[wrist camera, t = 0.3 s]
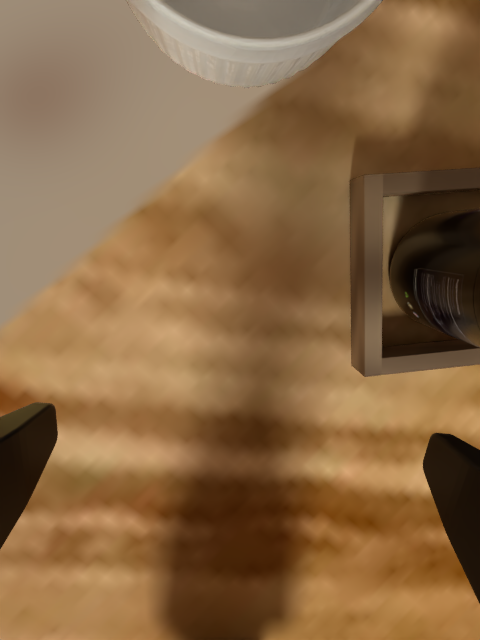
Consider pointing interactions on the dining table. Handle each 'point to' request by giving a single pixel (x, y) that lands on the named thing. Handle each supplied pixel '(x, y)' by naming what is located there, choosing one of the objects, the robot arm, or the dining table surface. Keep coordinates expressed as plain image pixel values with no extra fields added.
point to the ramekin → (248, 34)
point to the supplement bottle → (441, 274)
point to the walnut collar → (369, 274)
